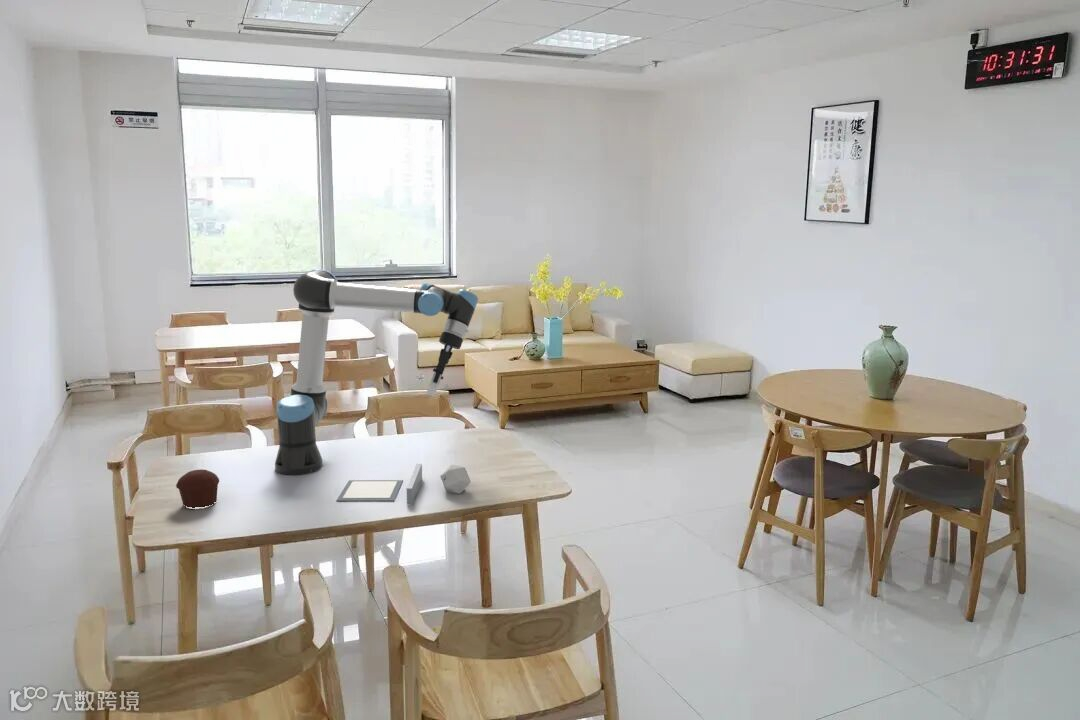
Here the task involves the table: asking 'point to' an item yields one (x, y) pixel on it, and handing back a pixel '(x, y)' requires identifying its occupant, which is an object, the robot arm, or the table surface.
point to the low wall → (414, 484)
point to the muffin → (198, 488)
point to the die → (455, 479)
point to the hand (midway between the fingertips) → (430, 394)
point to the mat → (370, 491)
